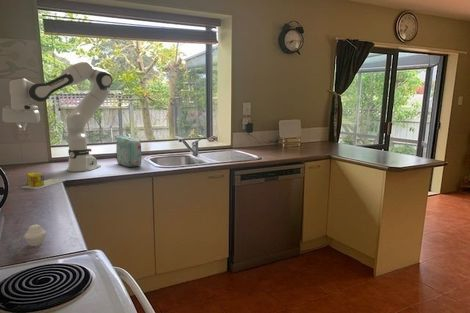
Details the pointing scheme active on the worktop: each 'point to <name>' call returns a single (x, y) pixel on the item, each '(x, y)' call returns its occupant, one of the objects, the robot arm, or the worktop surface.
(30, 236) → the muffin
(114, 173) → the worktop surface
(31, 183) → the supplement box
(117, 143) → the lunch box
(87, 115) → the robot arm
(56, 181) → the mat
